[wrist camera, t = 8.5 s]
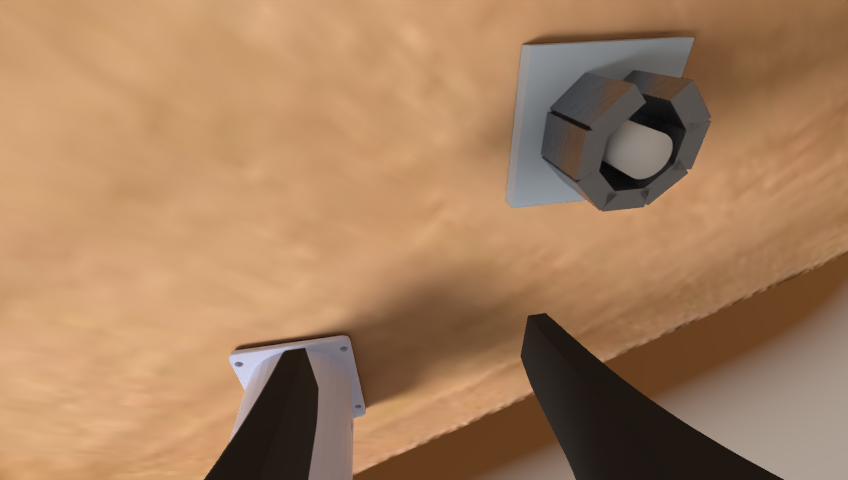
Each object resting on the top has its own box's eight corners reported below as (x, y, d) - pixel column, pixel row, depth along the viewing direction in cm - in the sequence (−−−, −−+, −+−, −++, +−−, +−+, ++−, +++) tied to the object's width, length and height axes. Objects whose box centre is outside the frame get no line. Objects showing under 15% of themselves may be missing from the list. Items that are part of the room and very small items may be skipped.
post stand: (630, 187, 21) (697, 228, 17) (505, 200, 20) (543, 247, 16) (678, 36, 17) (783, 41, 13) (522, 44, 16) (579, 52, 12)
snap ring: (629, 176, 19) (676, 203, 16) (535, 185, 19) (567, 215, 16) (663, 68, 16) (728, 77, 13) (553, 74, 16) (596, 86, 13)
